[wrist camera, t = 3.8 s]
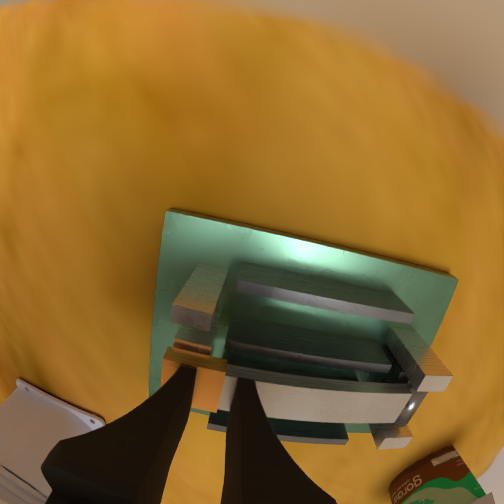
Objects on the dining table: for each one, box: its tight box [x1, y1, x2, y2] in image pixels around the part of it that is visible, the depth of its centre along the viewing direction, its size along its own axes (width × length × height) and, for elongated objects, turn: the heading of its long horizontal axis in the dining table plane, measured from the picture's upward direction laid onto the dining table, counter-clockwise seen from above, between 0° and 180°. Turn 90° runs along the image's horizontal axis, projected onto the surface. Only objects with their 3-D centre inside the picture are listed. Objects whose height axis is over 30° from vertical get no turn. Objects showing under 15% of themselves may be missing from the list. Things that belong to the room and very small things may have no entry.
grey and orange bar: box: [161, 346, 428, 427], centre depth 12 cm, size 12×2×1 cm, turn 78°
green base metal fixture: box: [149, 208, 458, 449], centre depth 14 cm, size 16×12×6 cm
